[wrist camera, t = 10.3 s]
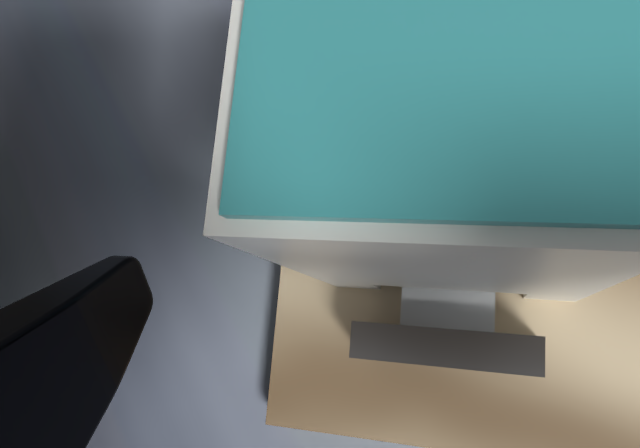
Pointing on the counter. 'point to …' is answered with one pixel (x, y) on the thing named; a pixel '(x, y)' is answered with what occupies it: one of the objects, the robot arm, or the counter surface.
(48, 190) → the counter surface
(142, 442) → the counter surface
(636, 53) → the panel
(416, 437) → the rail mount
